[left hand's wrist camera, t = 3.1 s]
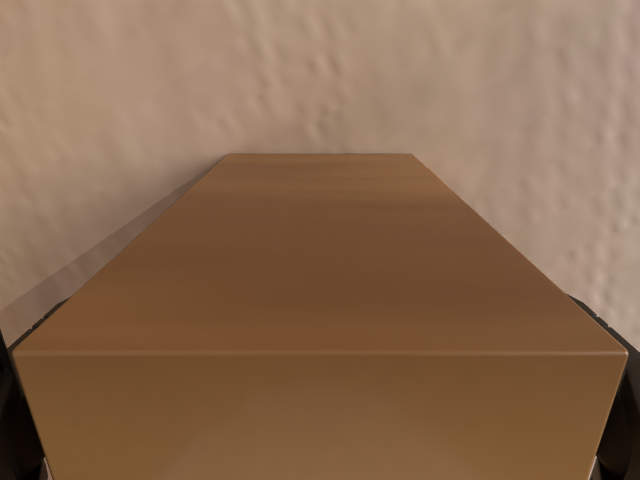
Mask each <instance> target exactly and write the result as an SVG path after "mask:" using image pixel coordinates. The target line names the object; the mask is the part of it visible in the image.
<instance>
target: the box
mask: <svg viewBox="0 0 640 480" xmlns="http://www.w3.org/2000/svg"><path fill="white" fill-rule="evenodd" d="M628 356H629V355H628V351H627V349H626V348H625V347H623V346H622V345H621V344H620V343H619V342H618V341H617V340H616V339H615V338H614V337H612V336H611V335H610V334H609V333H608V332H607V331H606V330H605V329H604V328H603V327H601V326H600V325H599V324H598V323H597V322H596V321H595V320H594V319H593V318H592V317H591V316H589V315H588V314H587V313H586V312H585V311H584V310H583V309H582V308H581V307H580V306H578V305H577V304H576V303H575V302H574V301H573V300H572V299H571V298H570V297H569V296H567V295H566V294H565V293H564V292H563V291H562V290H561V289H560V288H559V287H558V286H556V285H555V284H554V283H553V282H552V281H551V280H550V279H549V278H548V277H547V276H545V275H544V274H543V273H542V272H541V271H540V270H539V269H538V268H537V267H536V266H535V265H533V264H532V263H531V262H530V261H529V260H528V259H527V258H526V257H525V256H524V255H522V254H521V253H520V252H519V251H518V250H517V249H516V248H515V247H514V246H513V245H511V244H510V243H509V242H508V241H507V240H506V239H505V238H504V237H503V236H502V235H500V234H499V233H498V232H497V231H496V230H495V229H494V228H493V227H492V226H491V225H489V224H488V223H487V222H486V221H485V220H484V219H483V218H482V217H481V216H480V215H478V214H477V213H476V212H475V211H474V210H473V209H472V208H471V207H470V206H469V205H468V204H466V203H465V202H464V201H463V200H462V199H461V198H460V197H459V196H458V195H457V194H455V193H454V192H453V191H452V190H451V189H450V188H449V187H448V186H447V185H446V184H444V183H443V182H442V181H441V180H440V179H439V178H438V177H437V176H436V175H435V174H433V173H432V172H431V171H430V170H429V169H428V168H427V167H426V166H425V165H424V164H422V163H421V162H420V161H419V160H418V159H417V158H416V157H415V156H414V155H413V154H228V155H226V156H225V157H224V158H223V159H222V160H221V161H220V162H219V163H218V164H217V165H215V166H214V167H213V168H212V169H211V170H210V171H209V172H208V173H207V174H206V175H204V176H203V177H202V178H201V179H200V180H199V181H198V182H197V183H196V184H195V185H193V186H192V187H191V188H190V189H189V190H188V191H187V192H186V193H185V194H184V195H183V196H181V197H180V198H179V199H178V200H177V201H176V202H175V203H174V204H173V205H172V206H170V207H169V208H168V209H167V210H166V211H165V212H164V213H163V214H162V215H161V216H159V217H158V218H157V219H156V220H155V221H154V222H153V223H152V224H151V225H150V226H148V227H147V228H146V229H145V230H144V231H143V232H142V233H141V234H140V235H139V236H138V237H136V238H135V239H134V240H133V241H132V242H131V243H130V244H129V245H128V246H127V247H125V248H124V249H123V250H122V251H121V252H120V253H119V254H118V255H117V256H116V257H114V258H113V259H112V260H111V261H110V262H109V263H108V264H107V265H106V266H105V267H103V268H102V269H101V270H100V271H99V272H98V273H97V274H96V275H95V276H94V277H92V278H91V279H90V280H89V281H88V282H87V283H86V284H85V285H84V286H83V287H82V288H80V289H79V290H78V291H77V292H76V293H75V294H74V295H73V296H72V297H71V298H69V299H68V300H67V301H66V302H65V303H64V304H63V305H62V306H61V307H60V308H58V309H57V310H56V311H55V312H54V313H53V314H52V315H51V316H50V317H49V318H47V319H46V320H45V321H44V322H43V323H42V324H41V325H40V326H39V327H38V328H37V329H35V330H34V331H33V332H32V333H31V334H30V335H29V336H28V337H27V338H26V339H24V340H23V341H22V342H21V343H20V344H19V345H18V346H17V347H16V348H15V349H13V351H12V358H13V361H14V364H15V367H16V370H17V373H18V376H19V379H20V382H21V385H22V388H23V391H24V394H25V397H26V400H27V403H28V406H29V409H30V412H31V415H32V418H33V421H34V424H35V427H36V430H37V433H38V436H39V439H40V442H41V445H42V448H43V451H44V454H45V457H46V460H47V463H48V466H49V469H50V472H51V475H52V478H53V480H587V479H588V476H589V473H590V470H591V467H592V464H593V461H594V458H595V455H596V452H597V449H598V446H599V443H600V440H601V437H602V434H603V431H604V428H605V425H606V422H607V419H608V416H609V413H610V410H611V407H612V404H613V401H614V398H615V395H616V392H617V389H618V386H619V383H620V380H621V377H622V374H623V371H624V368H625V365H626V362H627V359H628Z"/></svg>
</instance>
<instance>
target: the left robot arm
mask: <svg viewBox="0 0 640 480" xmlns="http://www.w3.org/2000/svg"><path fill="white" fill-rule="evenodd" d="M565 294H566V293H565ZM566 295H567V296H569V295H568V294H566ZM569 297H570V298H571V299H572V300H573V301H574V302H575V303H576V304H577V305H578V306H580V307H581V308H582V309H583V310H584V311H585V312H586V313H587V314H588V315H589V316H591V317H592V318H593V319H594V320H595V321H596V322H597V323H598V324H599V325H600V326H601V327H603V328H604V329H605V330H606V331H607V332H608V333H609V334H610V335H611V336H612V337H614V338H615V339H616V340H617V341H618V342H619V343H620V344H621V345H622V346H623V347H625V348H626V349H627V351H628V355H629V356H628V359H627V362H626V365H625V368H624V371H623V374H622V377H621V380H620V383H619V386H618V389H617V392H616V395H615V398H614V401H613V404H612V407H611V410H610V413H609V416H608V419H607V422H606V425H605V428H604V431H603V434H602V437H601V440H600V443H599V446H598V449H597V452H596V456H597V458H596V461H595V464H594V467H593V470H592V473H591V476H590V479H589V480H640V352H638V351H637V350H636V349H635V348H634V347H633V346H632V345H630V344H629V343H628V342H627V341H626V340H625V339H624V338H623V337H621V336H620V335H619V334H618V333H617V332H616V331H615V330H613V329H612V328H611V327H608V324H607V323H606V322H604V321H603V320H602V319H601V318H600V317H597V315H596V314H595V313H594V312H593V311H592V310H591V309H590V308H589V307H587V306H586V305H585V304H584V303H583V302H581V301H579V300H577V299H575V298H573V297H571V296H569ZM70 298H71V297H70ZM68 299H69V298H68ZM68 299H66V300H64V301H62V302H60V303H58V304H57V305H56V306H55V307H54V308H52V309H51V310H50V311H49V312H48V313H47V314H46V315H45V316H44V319H40V320H39V321H38V322H37V323H36V324H34V325H33V326H32V329H29V330H28V331H27V332H25V333H24V334H23V335H22V336H21V337H20V338H19V339H18V340H16V341H15V342H14V343H13V344H12V345H11V346H10V347H9V348H6V345H5V342H4V339H3V336H2V333H1V330H0V480H47V479H48V474H47V468H46V464H45V461H44V457H45V454H44V451H43V448H42V445H41V442H40V439H39V436H38V433H37V430H36V427H35V424H34V421H33V418H32V415H31V412H30V409H29V406H28V403H27V400H26V397H25V394H24V391H23V388H22V385H21V382H20V379H19V376H18V373H17V370H16V367H15V364H14V361H13V358H12V351H13V349H15V348H16V347H17V346H18V345H19V344H20V343H21V342H22V341H23V340H24V339H26V338H27V337H28V336H29V335H30V334H31V333H32V332H33V331H34V330H35V329H37V328H38V327H39V326H40V325H41V324H42V323H43V322H44V321H45V320H46V319H47V318H49V317H50V316H51V315H52V314H53V313H54V312H55V311H56V310H57V309H58V308H60V307H61V306H62V305H63V304H64V303H65V302H66V301H67V300H68Z"/></svg>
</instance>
